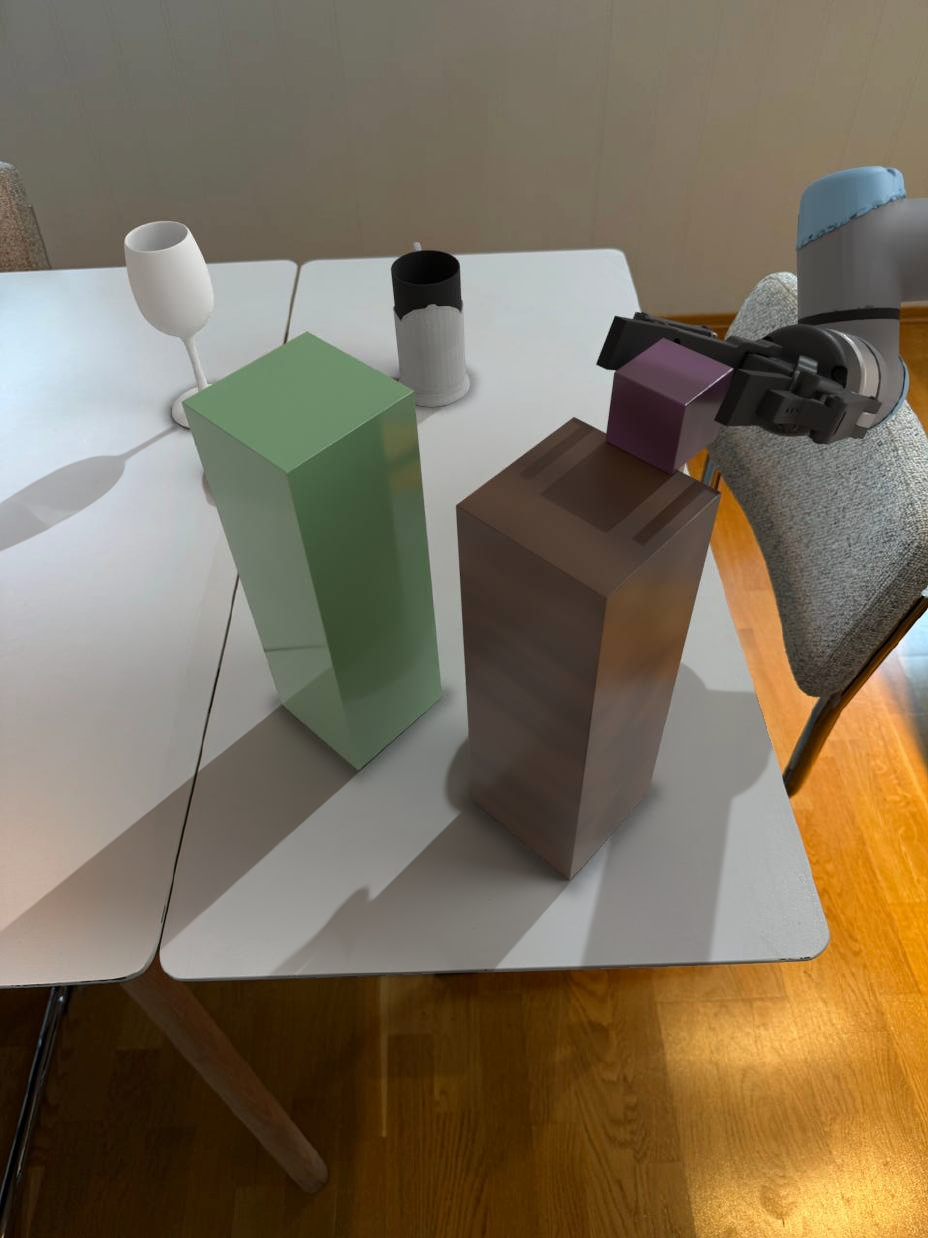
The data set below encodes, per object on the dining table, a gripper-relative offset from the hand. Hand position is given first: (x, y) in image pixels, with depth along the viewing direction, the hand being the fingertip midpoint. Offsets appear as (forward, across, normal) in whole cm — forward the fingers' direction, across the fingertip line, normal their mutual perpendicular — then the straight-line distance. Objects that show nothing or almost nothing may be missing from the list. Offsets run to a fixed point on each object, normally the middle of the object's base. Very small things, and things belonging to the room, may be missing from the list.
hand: (669, 369), depth 47 cm
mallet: (-2, 0, -8) cm, 8 cm away
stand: (-13, 0, -35) cm, 37 cm away
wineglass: (-24, +64, -29) cm, 74 cm away
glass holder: (-43, +49, -18) cm, 67 cm away
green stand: (-9, +19, -37) cm, 43 cm away
